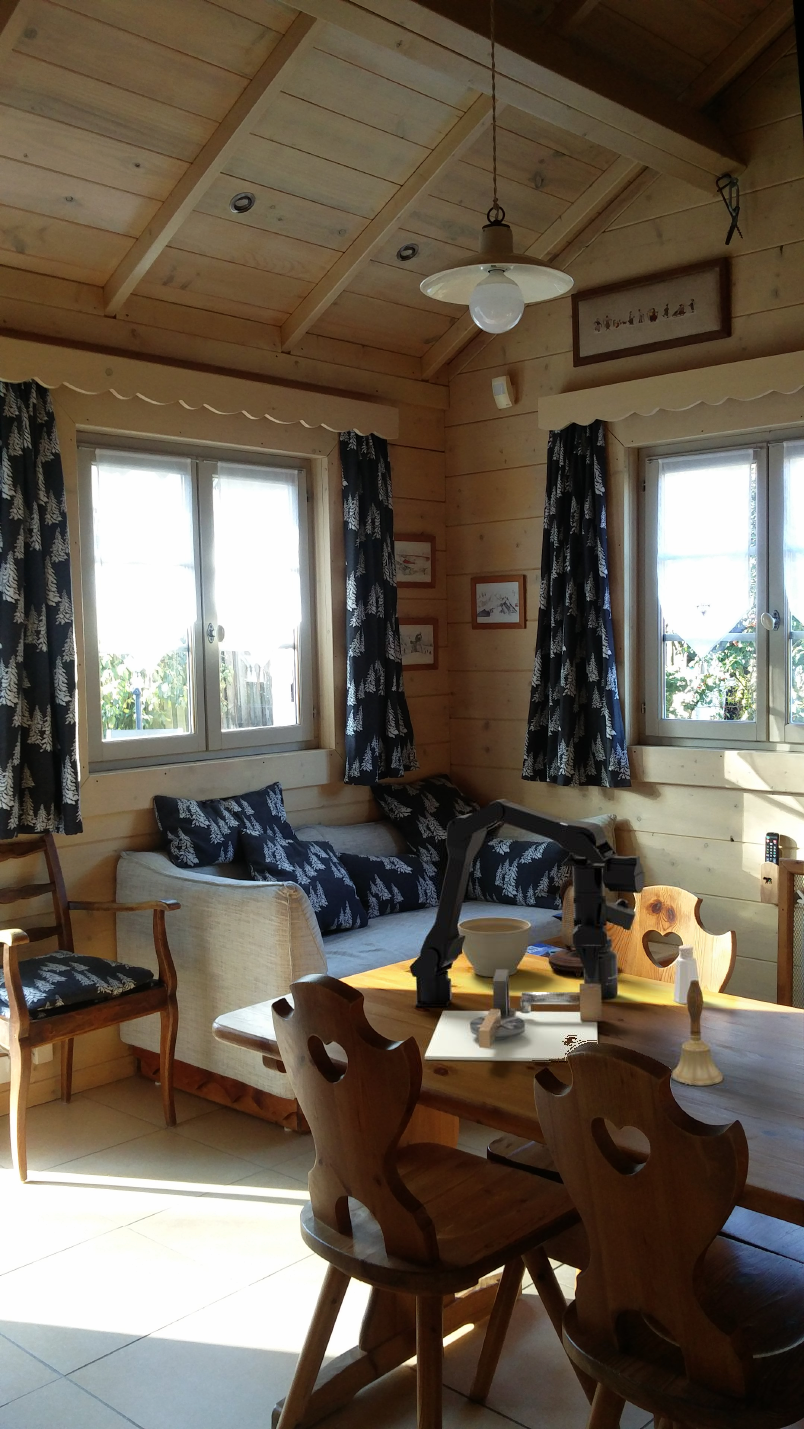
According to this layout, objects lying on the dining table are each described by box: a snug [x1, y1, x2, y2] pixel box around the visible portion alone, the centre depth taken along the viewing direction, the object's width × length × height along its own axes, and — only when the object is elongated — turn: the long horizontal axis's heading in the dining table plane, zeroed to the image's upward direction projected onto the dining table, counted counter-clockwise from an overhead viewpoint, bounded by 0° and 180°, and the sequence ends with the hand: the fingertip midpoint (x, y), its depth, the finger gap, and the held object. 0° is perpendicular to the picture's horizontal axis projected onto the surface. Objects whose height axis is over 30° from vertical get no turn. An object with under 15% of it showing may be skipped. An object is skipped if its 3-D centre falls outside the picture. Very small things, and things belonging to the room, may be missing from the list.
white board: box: [424, 1010, 598, 1062], centre depth 220 cm, size 30×27×2 cm
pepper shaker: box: [673, 944, 700, 1005], centre depth 238 cm, size 5×5×11 cm
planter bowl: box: [458, 916, 532, 978], centre depth 265 cm, size 16×16×11 cm
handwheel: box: [470, 1008, 525, 1048], centre depth 214 cm, size 16×16×4 cm
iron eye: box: [492, 969, 516, 1016], centre depth 229 cm, size 4×10×8 cm, turn 171°
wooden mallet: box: [519, 983, 603, 1022], centre depth 227 cm, size 15×4×6 cm, turn 81°
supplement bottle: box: [583, 935, 619, 1001], centre depth 244 cm, size 7×7×12 cm
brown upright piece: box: [548, 877, 584, 978], centre depth 265 cm, size 15×15×20 cm
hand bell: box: [672, 980, 724, 1087], centre depth 195 cm, size 8×8×16 cm
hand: (591, 971), depth 226 cm, fingers open, 9 cm apart
